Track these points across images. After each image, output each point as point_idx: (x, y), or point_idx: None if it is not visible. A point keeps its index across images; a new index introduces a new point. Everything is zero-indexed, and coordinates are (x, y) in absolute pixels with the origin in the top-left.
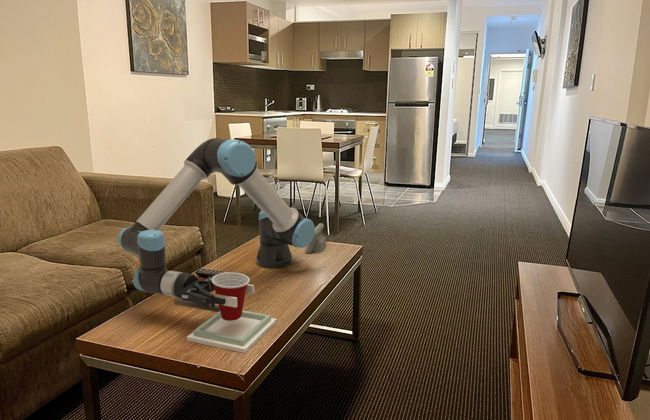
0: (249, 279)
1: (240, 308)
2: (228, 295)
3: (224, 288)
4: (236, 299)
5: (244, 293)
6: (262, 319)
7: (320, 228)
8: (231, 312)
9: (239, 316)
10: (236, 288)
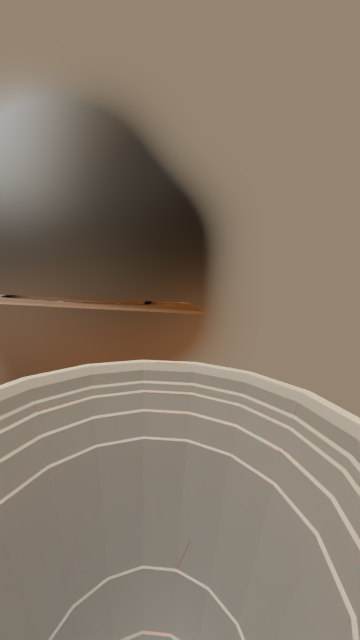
0: (87, 364)
1: (167, 570)
2: (288, 504)
3: (348, 448)
4: None
5: (143, 459)
6: None
7: None
8: (232, 636)
9: (167, 628)
10: (253, 395)
